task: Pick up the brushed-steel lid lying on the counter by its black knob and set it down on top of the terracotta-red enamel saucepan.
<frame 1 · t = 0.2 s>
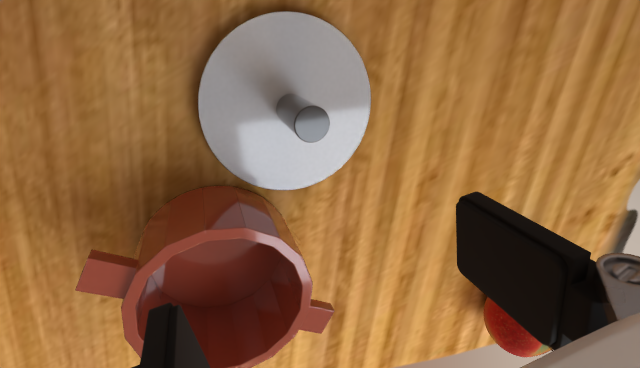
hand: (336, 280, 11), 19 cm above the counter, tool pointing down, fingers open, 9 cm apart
apple: (493, 294, 46), on the counter
pan lid: (289, 108, 28), point 1 cm above the counter
saucepan: (218, 252, 31), on the counter
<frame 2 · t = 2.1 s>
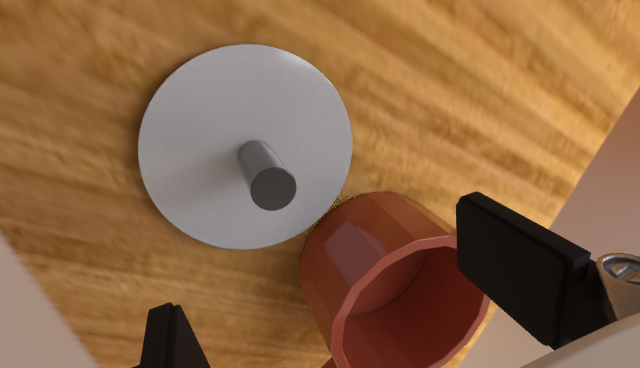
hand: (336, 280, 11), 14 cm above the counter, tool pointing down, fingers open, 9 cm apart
pan lid: (254, 155, 23), point 1 cm above the counter
saucepan: (368, 258, 30), on the counter
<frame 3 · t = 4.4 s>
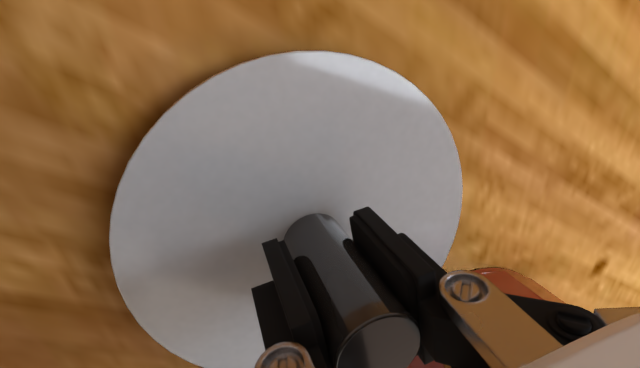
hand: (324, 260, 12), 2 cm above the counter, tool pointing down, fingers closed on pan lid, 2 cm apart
pan lid: (309, 234, 14), point 1 cm above the counter, touching gripper
saucepan: (455, 356, 21), on the counter
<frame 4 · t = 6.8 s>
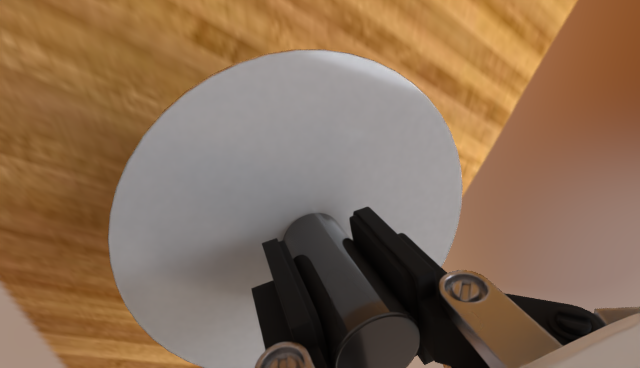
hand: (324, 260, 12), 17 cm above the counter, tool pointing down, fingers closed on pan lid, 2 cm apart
pan lid: (308, 233, 14), point 16 cm above the counter, touching gripper
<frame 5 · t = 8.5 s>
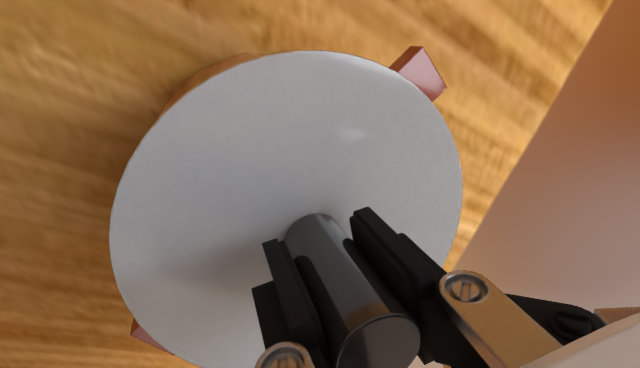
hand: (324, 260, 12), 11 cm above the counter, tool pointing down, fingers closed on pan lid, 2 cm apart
pan lid: (309, 234, 14), point 9 cm above the counter, touching gripper
saucepan: (264, 162, 22), on the counter
when the fingers open (9 cm above the counter, at t = 9.2 s): pan lid stays where it is, resting on saucepan.
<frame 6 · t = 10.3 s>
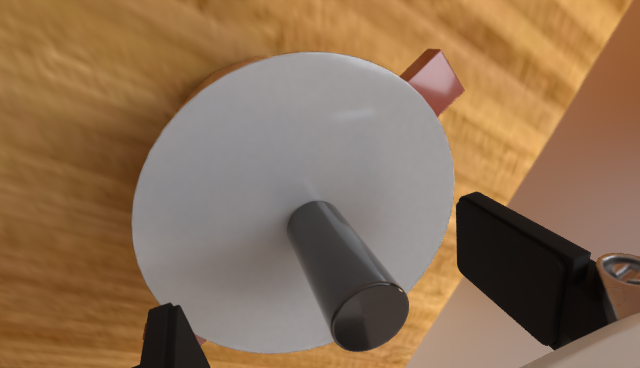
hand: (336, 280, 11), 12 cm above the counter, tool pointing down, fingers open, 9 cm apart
pan lid: (311, 220, 15), point 7 cm above the counter, touching saucepan
saucepan: (276, 165, 22), on the counter
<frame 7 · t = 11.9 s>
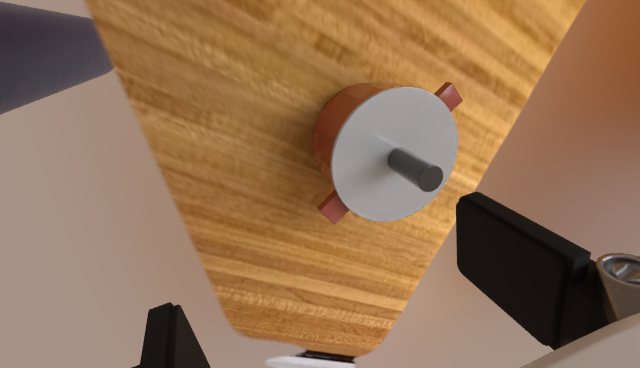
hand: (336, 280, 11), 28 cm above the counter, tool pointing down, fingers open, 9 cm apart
pan lid: (395, 157, 35), point 7 cm above the counter, touching saucepan
saucepan: (364, 138, 41), on the counter
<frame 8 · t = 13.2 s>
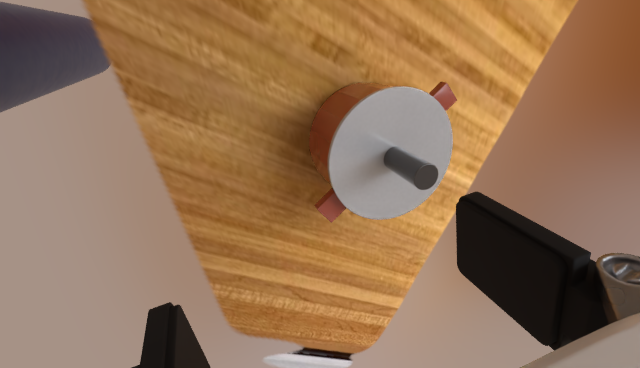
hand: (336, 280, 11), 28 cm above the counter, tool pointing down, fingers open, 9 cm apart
pan lid: (391, 156, 35), point 7 cm above the counter, touching saucepan
saucepan: (360, 137, 42), on the counter
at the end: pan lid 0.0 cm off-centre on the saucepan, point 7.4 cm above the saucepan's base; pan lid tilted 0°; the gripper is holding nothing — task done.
